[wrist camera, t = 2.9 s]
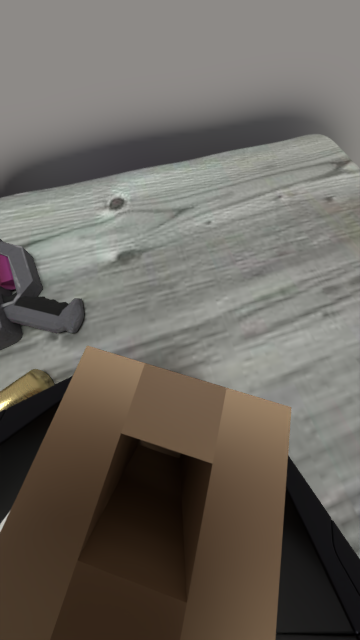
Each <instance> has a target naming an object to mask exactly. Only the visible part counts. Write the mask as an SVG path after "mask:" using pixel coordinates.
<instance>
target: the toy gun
mask: <svg viewBox="0 0 360 640" xmlns="http://www.w3.org/2000/svg"><path fill="white" fill-rule="evenodd" d="M13 289H16V291H17V292H16V293H15V294H13V295H12V293H11V290H13ZM42 290H43V287H42V284H41V281H40V278H39V275H38V272H37V269H36V266H35V263H34V260H33V257H32V256H31V255H30V254H29V253H28V252H27V251H26V250H25V249H24V248H23V247H21V246H17V245H13V244H9V243H5V242H3V241H2V240H1V239H0V350H1V349H4V348H6V347H9V346H11V345H13V344H15V343H17V342H18V341H19V340H20V339H21V338H22V335H23V333H22V329H21V326H20V324H22V325H26V326H30V327H35V328H39V329H43V330H47V331H51V332H55V333H60V332H63V331H67V332H69V333H75V332H77V330H78V329H79V328H80V326H81V324H82V322H83V319H84V309H83V302H82V299H79V298H74V299H73V300H72V302H71V303H70V304H68V303H66V302H62V303H58V302H57V301H55V300H49V299H46V298H45V297H37V296H38V295H39V294H40V292H41V291H42Z"/></svg>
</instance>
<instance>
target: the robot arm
mask: <svg viewBox="0 0 360 640" xmlns="http://www.w3.org/2000/svg"><path fill="white" fill-rule="evenodd" d="M72 377H73V376H72ZM72 377H70V378H68V379H66V380H64V381H62V382H59V383H57V384H55V385H53V386H51V387H49V388H47V389H45V390H43V391H41V392H39V393H37V394H35V395H33V396H31V397H29V398H27V399H25V400H23V401H21V402H19V403H17V404H15V405H13V406H11V407H9V408H7V410H6V409H4V410H2V411H0V524H1V522H2V521H3V520H4V518H5V517H6V516H7V514H8V513H9V512H10V510H11V508H12V506H13V504H14V502H15V500H16V497H17V495H18V493H19V491H20V489H21V487H22V484H23V482H24V480H25V478H26V476H27V474H28V472H29V469H30V467H31V465H32V463H33V461H34V459H35V457H36V454H37V452H38V450H39V448H40V446H41V444H42V441H43V439H44V437H45V435H46V433H47V431H48V429H49V426H50V424H51V422H52V420H53V418H54V416H55V413H56V411H57V409H58V407H59V405H60V403H61V401H62V398H63V396H64V394H65V392H66V390H67V388H68V385H69V383H70V381H71V379H72ZM275 640H360V559H359V557H358V556H357V554H356V553H355V551H354V550H353V549H352V547H351V546H350V544H349V543H348V541H347V540H346V539H345V537H344V536H343V534H342V533H341V531H340V530H339V528H338V527H337V526H336V524H335V523H334V521H333V520H331V517H330V515H329V514H328V513H327V511H326V510H325V508H324V507H323V505H322V504H321V502H320V501H319V499H318V498H317V497H316V495H315V494H314V492H313V491H312V489H311V488H310V486H309V485H308V483H307V482H306V480H305V479H304V478H303V476H302V475H301V473H300V472H299V470H298V469H297V467H296V466H295V464H294V463H293V461H292V460H291V459H290V457H289V456H288V462H287V477H286V492H285V506H284V521H283V535H282V550H281V565H280V579H279V594H278V609H277V623H276V638H275Z"/></svg>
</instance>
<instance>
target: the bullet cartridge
mask: <svg viewBox="0 0 360 640" xmlns="http://www.w3.org/2000/svg"><path fill="white" fill-rule="evenodd" d="M53 385H54V383H53V380H52V379H51V378H50V376H49V375H48V374H46V373H45V372H43V371H41V370H38V369H33V370H31V371H29V372H28V373H26V374H25V375H24V376H22V377H21V378H19V379H18V380H16V381H15V382H13V383H12V384H11V385H9V386H8V387H6V388H5V389H3V390H2V391H0V411H2V410H4V409H6V410H7V408H9V407H11V406H13V405H15V404H17V403H19V402H21V401H23V400H25V399H27V398H29V397H31V396H33V395H35V394H37V393H39V392H41V391H43V390H45V389H47V388H49V387H51V386H53Z"/></svg>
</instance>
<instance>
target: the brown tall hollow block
mask: <svg viewBox="0 0 360 640" xmlns="http://www.w3.org/2000/svg"><path fill="white" fill-rule="evenodd" d="M290 419H291V407H288V406H285V405H282V404H278V403H275V402H272V401H268V400H265V399H262V398H259V397H255V396H252V395H249V394H245V393H242V392H239V391H235V390H232V389H229V388H225V387H222V386H219V385H216V384H212V383H209V382H206V381H202V380H199V379H196V378H192V377H189V376H186V375H182V374H179V373H176V372H173V371H169V370H166V369H163V368H159V367H156V366H153V365H149V364H146V363H143V362H139V361H136V360H133V359H129V358H126V357H123V356H120V355H116V354H113V353H110V352H106V351H103V350H100V349H96V348H93V347H90V346H87V347H86V349H85V351H84V353H83V355H82V358H81V360H80V362H79V364H78V366H77V368H76V370H75V373H74V375H73V377H72V379H71V381H70V383H69V385H68V388H67V390H66V392H65V394H64V396H63V398H62V401H61V403H60V405H59V407H58V409H57V411H56V413H55V416H54V418H53V420H52V422H51V424H50V426H49V429H48V431H47V433H46V435H45V437H44V439H43V441H42V444H41V446H40V448H39V450H38V452H37V454H36V457H35V459H34V461H33V463H32V465H31V467H30V469H29V472H28V474H27V476H26V478H25V480H24V482H23V484H22V487H21V489H20V491H19V493H18V495H17V497H16V500H15V502H14V504H13V506H12V508H11V510H10V512H9V515H8V517H7V519H6V521H5V523H4V525H3V528H2V530H1V532H0V640H275V638H276V623H277V609H278V594H279V579H280V565H281V550H282V535H283V521H284V506H285V492H286V477H287V462H288V448H289V433H290Z"/></svg>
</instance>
